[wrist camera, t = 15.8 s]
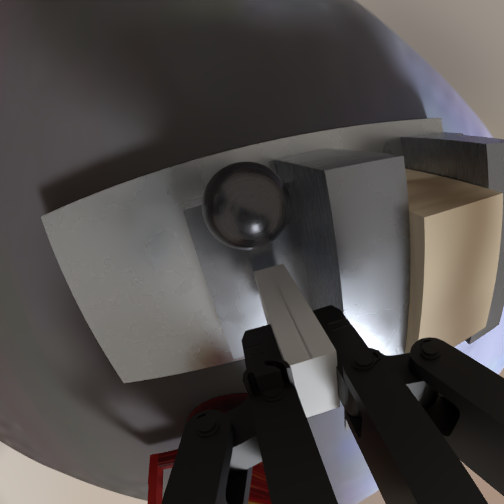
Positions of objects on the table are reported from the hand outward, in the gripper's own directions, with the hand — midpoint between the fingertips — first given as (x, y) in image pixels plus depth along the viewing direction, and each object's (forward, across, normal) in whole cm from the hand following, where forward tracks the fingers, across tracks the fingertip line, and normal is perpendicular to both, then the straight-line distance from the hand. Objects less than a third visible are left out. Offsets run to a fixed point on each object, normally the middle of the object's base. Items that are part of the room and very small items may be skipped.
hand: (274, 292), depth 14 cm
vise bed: (+5, +1, 0) cm, 5 cm away
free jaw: (+3, +1, +1) cm, 3 cm away
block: (+3, +7, 0) cm, 8 cm away
